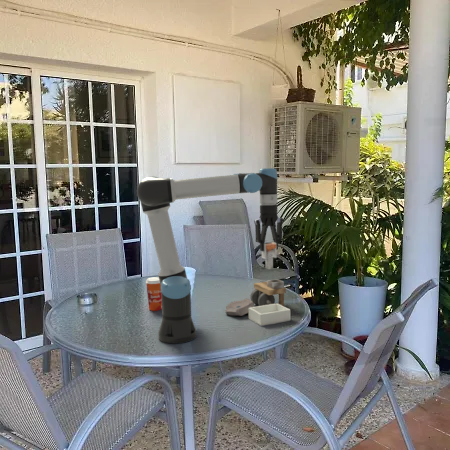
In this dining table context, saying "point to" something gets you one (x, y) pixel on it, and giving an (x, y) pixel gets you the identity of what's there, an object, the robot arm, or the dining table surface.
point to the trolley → (268, 292)
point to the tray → (269, 314)
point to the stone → (239, 307)
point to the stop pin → (269, 255)
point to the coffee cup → (154, 293)
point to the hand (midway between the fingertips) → (269, 257)
